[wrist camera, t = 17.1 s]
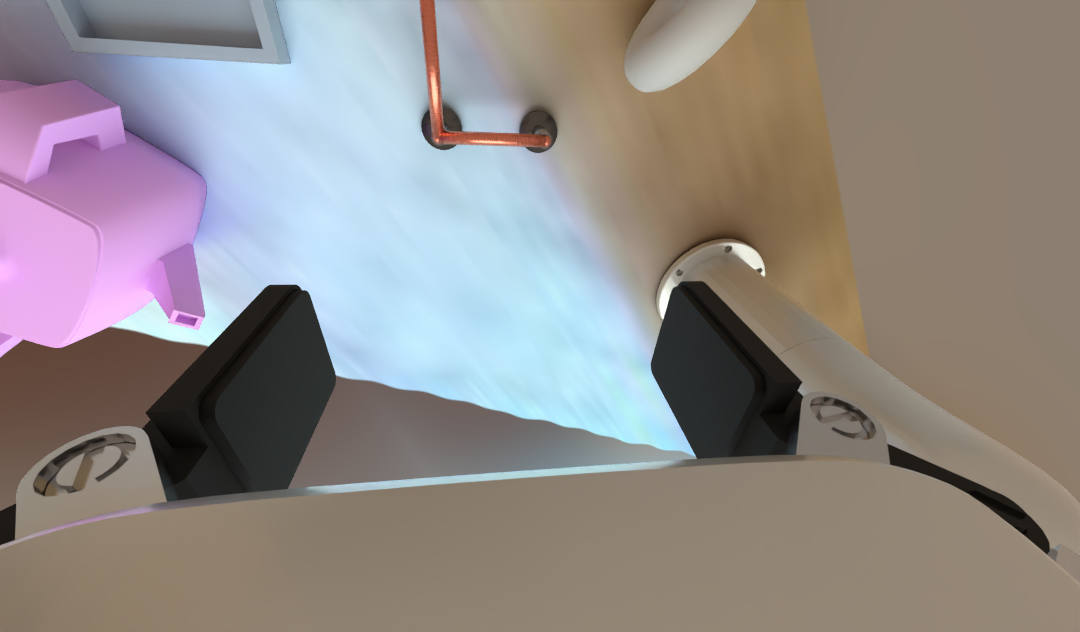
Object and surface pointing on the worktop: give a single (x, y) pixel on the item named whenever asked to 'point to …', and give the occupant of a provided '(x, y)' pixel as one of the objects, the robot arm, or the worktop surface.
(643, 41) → the donut
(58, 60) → the worktop surface
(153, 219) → the teakettle
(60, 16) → the dish
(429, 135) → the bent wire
